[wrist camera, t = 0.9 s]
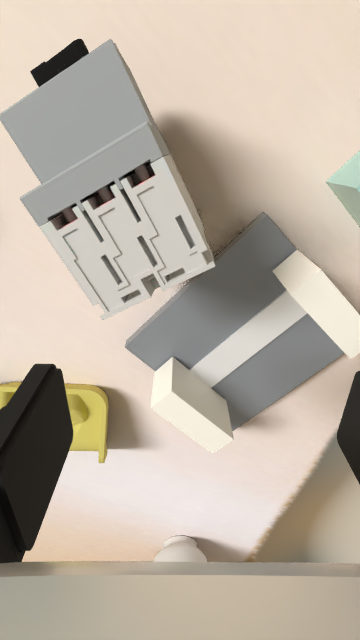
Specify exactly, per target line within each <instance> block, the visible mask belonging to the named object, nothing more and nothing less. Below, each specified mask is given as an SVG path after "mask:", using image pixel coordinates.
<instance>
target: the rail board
mask: <svg viewBox="0 0 360 640" xmlns="http://www.w3.org/2000/svg"><path fill="white" fill-rule="evenodd" d="M214 264H215V267H213V268H211V269H209V270H207V271H204V272H202V273H200V274H198V275H196V276H195V277H194V278H192V279H191V280H190V281H189V282H188V283H187V284H186V285H185V286H184V287H183V288H182V289H181V290H180V291H179V292H178V293H177V294H175V295H174V296H173V297H172V298H171V299H170V300H169V301H168V302H167V303H166V304H165V305H164V306H163V307H162V308H161V309H160V310H159V311H157V312H156V313H155V314H154V315H153V316H152V317H151V318H150V319H149V320H148V321H147V322H146V323H145V324H144V325H143V326H142V327H140V328H139V329H138V330H137V331H136V332H135V333H134V334H133V335H132V336H131V337H130V338H129V339H128V340H127V341H126V345H125V348H126V349H128V350H129V351H130V352H132V353H133V354H134V355H135V356H137V357H138V358H139V359H140V360H142V361H143V362H144V363H146V364H147V365H148V366H149V367H151V368H152V369H153V370H154V371H155V372H154V381H153V390H152V398H151V407H150V409H152V410H153V411H155V412H156V413H157V414H159V415H160V416H161V417H163V418H164V419H165V420H167V421H168V422H170V423H171V424H172V425H174V426H175V427H176V428H178V429H179V430H180V431H182V432H183V433H185V434H186V435H187V436H189V437H190V438H191V439H193V440H194V441H195V442H197V443H198V444H200V445H201V446H202V447H204V448H205V449H206V450H208V451H209V452H210V453H212V454H213V453H215V452H216V451H218V450H219V449H221V448H222V447H223V446H225V445H226V444H228V443H229V442H231V441H232V440H234V438H233V433H232V431H234V430H235V429H237V428H238V427H239V426H241V425H242V424H244V423H245V422H247V421H248V420H249V419H251V418H252V417H254V416H255V415H257V414H258V413H259V412H261V411H262V410H264V409H265V408H267V407H268V406H269V405H271V404H272V403H274V402H275V401H277V400H278V399H280V398H281V397H282V396H284V395H285V394H287V393H288V392H290V391H291V390H292V389H294V388H295V387H297V386H298V385H300V384H301V383H302V382H304V381H305V380H307V379H308V378H310V377H311V376H312V375H314V374H315V373H317V372H318V371H320V370H321V369H323V368H324V367H325V366H327V365H328V364H330V363H331V362H333V361H334V360H335V359H337V358H338V357H340V356H341V355H343V354H344V353H345V354H346V355H347V356H348V357H349V358H350V359H352V358H353V357H355V356H356V355H358V354H359V353H360V315H359V313H358V312H357V311H356V310H355V309H354V308H353V306H352V305H351V304H350V303H349V302H348V301H347V299H346V298H345V297H344V296H343V295H342V294H341V292H340V291H339V290H338V289H337V288H336V287H335V285H334V284H333V283H332V282H331V281H330V279H329V278H328V277H327V276H326V275H325V274H324V272H323V271H322V270H321V269H320V268H319V267H317V266H316V265H315V264H314V263H313V262H311V261H310V260H309V259H308V258H307V257H305V256H304V255H303V254H302V253H301V252H299V251H298V250H297V249H296V248H295V247H294V246H293V244H292V243H291V242H290V241H289V240H288V239H287V238H286V236H285V235H284V234H283V233H282V232H281V231H280V229H279V228H278V227H277V226H276V225H275V224H274V222H273V221H272V220H271V219H270V218H269V217H268V215H267V214H265V213H264V212H263V213H261V214H260V215H259V216H258V217H257V218H256V219H255V220H254V221H253V222H252V223H251V224H250V225H249V226H248V227H247V228H246V229H244V230H243V231H242V232H241V233H240V234H239V235H238V236H237V237H236V238H235V239H234V240H233V241H232V242H231V243H230V244H229V245H227V246H226V247H225V248H224V249H223V250H222V251H221V252H220V253H219V254H218V255H217V256H216V257H215V258H214Z"/></svg>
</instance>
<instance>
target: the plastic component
mask: <svg viewBox="0 0 360 640" xmlns="http://www.w3.org/2000/svg"><path fill="white" fill-rule="evenodd" d="M21 383H22V382H11V383H9V384H0V409H1V408H2V407H4V406H6V405H7V403H8V402H9V401H10V399H11V398H12V396H13V395H14V393H15V392H16V390H17V389H18V387H19V386H20V384H21ZM64 385H65V390H66V395H67V400H68V405H69V411H70V416H71V421H72V426H73V441H72V444H71V447H70V449H69V451H99V463H104V462H105V459H106V456H107V446H106V439H107V423H108V406H109V403H108V398H107V396H106V394H105V392H104V391H103V390H102V389H100V388H99V387H97V386H94V385H82V384H64Z"/></svg>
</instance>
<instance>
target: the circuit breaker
mask: <svg viewBox="0 0 360 640" xmlns="http://www.w3.org/2000/svg"><path fill="white" fill-rule="evenodd" d="M30 72H31V74H32V76H33V78H34V79H35V81H36V83H37V85H38V86H39V88H37V89H36V90H34V91H33V92H31V93H30V94H28V95H27V96H26V97H24V98H23V99H21V100H20V101H18V102H17V103H15V104H14V105H12V106H11V107H9V108H8V109H6V110H5V111H3V112H2V113H0V121H1V122H2V124H3V125H4V127H5V128H6V130H7V132H8V133H9V135H10V136H11V138H12V139H13V141H14V142H15V144H16V145H17V147H18V149H19V150H20V152H21V153H22V155H23V156H24V158H25V159H26V161H27V163H28V164H29V166H30V167H31V169H32V170H33V172H34V173H35V175H36V176H37V178H38V180H39V181H40V183H41V185H40V186H38V187H36V188H35V189H33V190H31V191H30V192H28V193H26V194H25V195H23V196H22V197H20V200H21V201H22V203H23V204H24V206H25V207H26V209H27V210H28V212H29V213H30V215H31V216H32V217H33V219H34V220H35V222H36V223H37V225H38V226H39V228H40V229H41V231H42V232H43V233H44V235H45V236H46V238H47V239H48V241H49V242H50V244H51V245H52V247H53V248H54V249H55V251H56V252H57V254H58V255H59V257H60V258H61V260H62V261H63V263H64V264H65V265H66V267H67V268H68V270H69V271H70V273H71V274H72V276H73V277H74V279H75V280H76V281H77V283H78V284H79V286H80V287H81V289H82V290H83V292H84V293H85V295H86V296H87V297H88V299H89V300H90V302H91V303H92V305H93V306H94V305H96V304H98V303H99V304H100V306H101V307H102V309H103V310H104V312H105V313H104V314H102V315H101V318H102V319H103V320H104V319H106V318H108V317H110V316H112V315H115V314H117V313H119V312H121V311H123V310H125V309H127V308H129V307H131V306H133V305H135V304H138V303H140V302H142V301H144V300H146V299H148V298H150V297H151V296H152V294H153V292H154V290H155V289H156V288H158V287H161V288H162V290H163V291H165V290H167V289H169V288H171V287H173V286H175V285H177V284H179V283H181V282H184V281H186V280H188V279H190V278H192V277H194V276H196V275H198V274H200V273H202V272H204V271H207V270H209V269H211V268H213V267H215V264H214V258H213V255H212V251H211V249H210V247H209V245H208V243H207V241H206V238H205V235H204V231H205V229H204V226H203V223H202V220H201V218H200V217H199V214H198V212H197V210H196V207H195V205H194V203H193V201H192V198H191V196H190V194H189V192H188V190H187V188H186V186H185V183H184V181H183V179H182V177H181V175H180V173H179V170H178V168H177V166H176V164H175V162H174V160H173V158H172V155H171V153H170V151H169V149H168V147H167V145H166V143H165V140H164V138H163V136H162V135H161V134H160V133H159V131H158V128H157V126H156V124H155V122H154V120H153V118H152V116H151V113H150V111H149V109H148V107H147V105H146V103H145V101H144V98H143V96H142V94H141V92H140V90H139V88H138V86H137V83H136V81H135V79H134V77H133V75H132V73H131V71H130V69H129V67H128V66H127V64H126V62H125V61H124V59H123V57H122V56H121V54H120V52H119V50H118V48H117V46H116V44H115V43H113V41H112V40H111V39H110V40H108V41H107V42H105V43H104V44H102V45H101V46H99V47H98V48H96V49H95V50H93V51H92V52H90V53H89V52H88V50H87V48H86V46H85V44H84V42H83V40H82V39H77V40H75V41H73V42H72V43H71V44H69V45H68V46H67V47H66V48H65V49H63V50H62V51H61V52H59V53H58V54H57V55H55V56H54V57H53V58H51V59H50V60H49V61H47V62H43V63H41V64H40V65H39V66H37V67H36V68H34V69H33V70H32V71H30ZM149 164H150V165H149ZM147 165H148V166H147ZM146 166H147V167H146ZM135 172H136V173H135ZM128 176H129V177H128ZM126 177H127V178H126ZM124 178H125V179H124ZM112 185H113V186H112ZM62 214H63V215H62ZM60 215H61V216H60ZM58 216H59V217H58ZM51 220H52V221H51ZM49 221H50V222H49ZM47 222H48V223H47ZM45 223H46V224H45ZM43 224H44V225H43ZM42 225H43V226H42ZM40 226H41V227H40Z"/></svg>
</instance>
